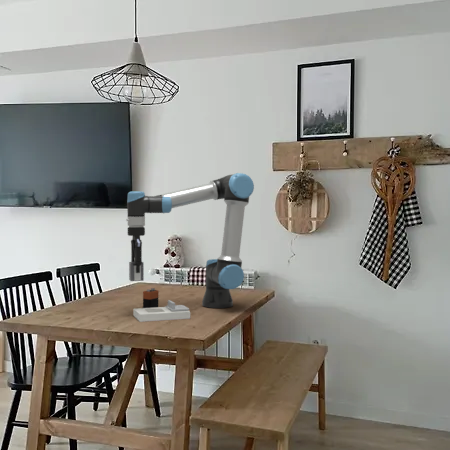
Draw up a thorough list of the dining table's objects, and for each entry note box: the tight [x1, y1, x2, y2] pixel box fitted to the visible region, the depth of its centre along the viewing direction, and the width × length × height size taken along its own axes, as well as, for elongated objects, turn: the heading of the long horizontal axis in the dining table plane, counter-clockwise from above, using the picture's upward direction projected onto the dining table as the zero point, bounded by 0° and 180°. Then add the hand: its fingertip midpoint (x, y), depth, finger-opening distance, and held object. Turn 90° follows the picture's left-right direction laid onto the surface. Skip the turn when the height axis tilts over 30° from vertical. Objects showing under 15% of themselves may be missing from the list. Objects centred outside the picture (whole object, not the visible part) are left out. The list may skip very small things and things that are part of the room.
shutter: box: [165, 299, 190, 311], centre depth 229 cm, size 8×10×3 cm
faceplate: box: [132, 306, 191, 323], centre depth 226 cm, size 22×14×3 cm, turn 111°
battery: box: [142, 287, 159, 308], centre depth 242 cm, size 4×7×10 cm, turn 151°
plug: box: [128, 258, 145, 282], centre depth 227 cm, size 6×4×10 cm
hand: (136, 279), depth 228 cm, fingers closed on plug, 4 cm apart
